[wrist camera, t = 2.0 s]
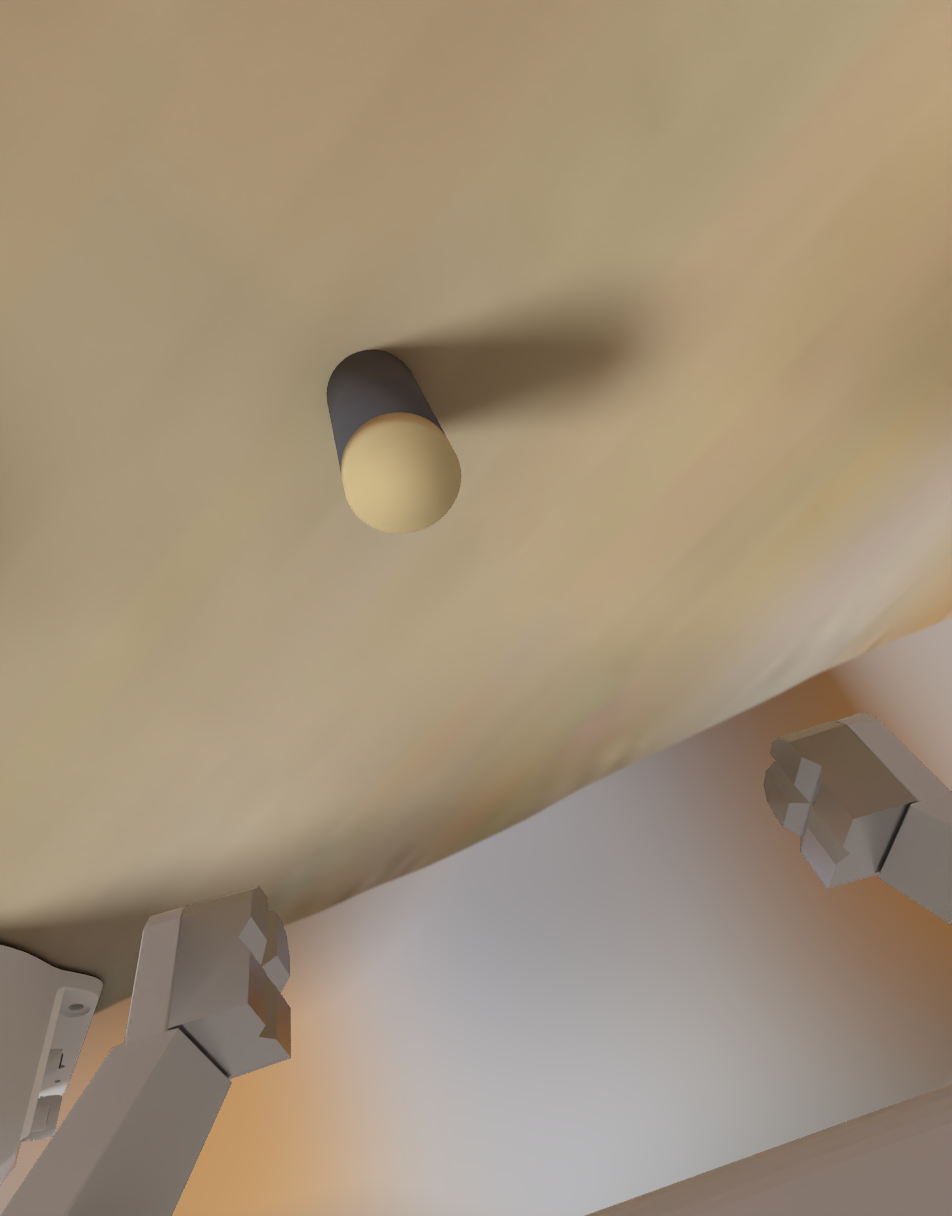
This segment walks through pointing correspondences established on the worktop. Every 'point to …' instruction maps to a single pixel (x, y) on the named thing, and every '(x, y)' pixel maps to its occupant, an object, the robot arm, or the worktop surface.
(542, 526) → the worktop surface
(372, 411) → the cylinder
